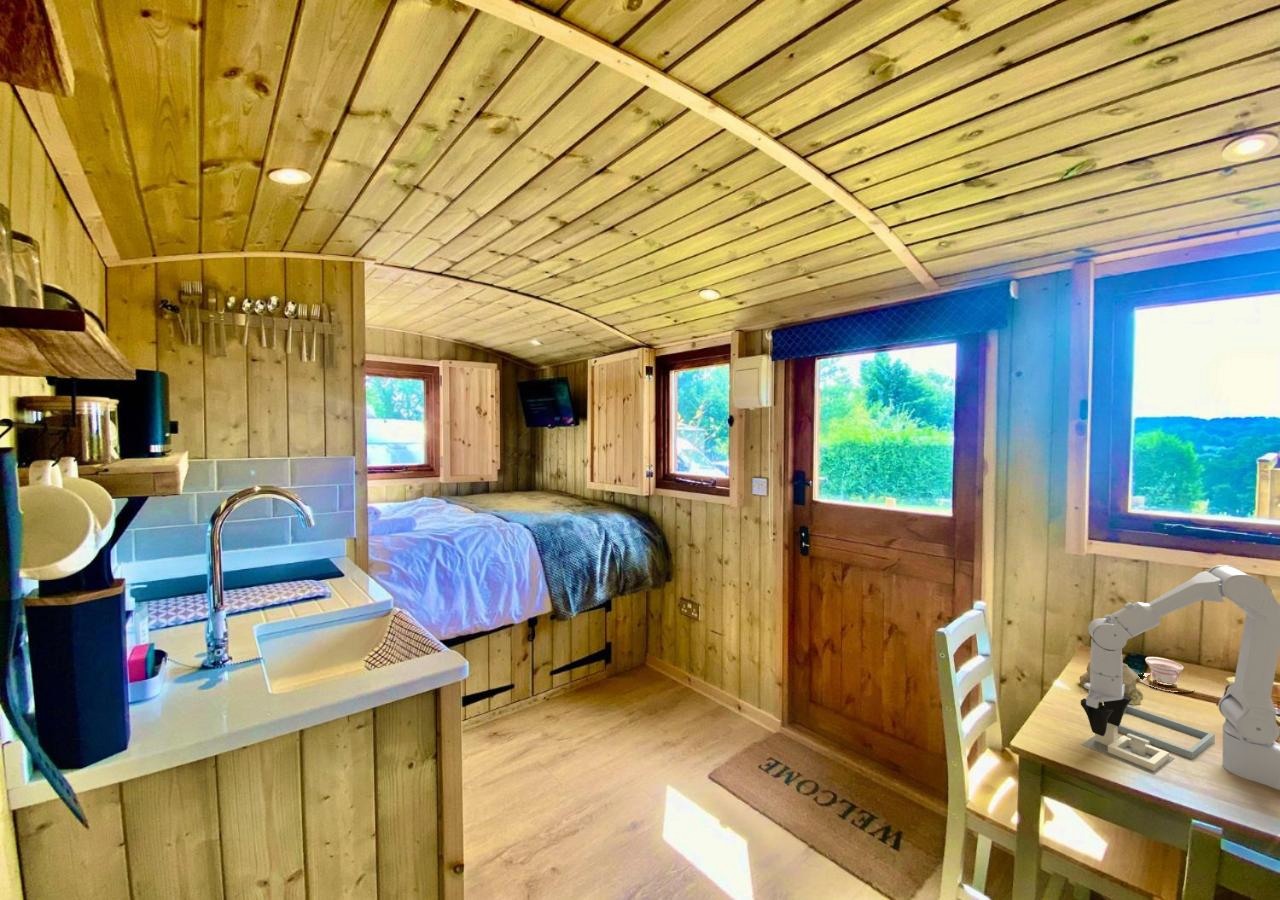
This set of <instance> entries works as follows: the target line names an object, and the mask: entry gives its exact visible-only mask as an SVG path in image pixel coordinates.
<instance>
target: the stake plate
mask: <svg viewBox="0 0 1280 900" xmlns="http://www.w3.org/2000/svg"><path fill="white" fill-rule="evenodd" d="M1126 736H1127V737H1128V738H1131V747H1130V746H1126V747H1125V748H1124V750H1126V751H1129V752H1132V753H1134V754H1137V755H1139V756H1142V757H1144V758H1147V759H1150V758H1152V757H1153V755H1151V754H1148V753H1145V744H1146V745H1150V743H1149V741H1148V740H1146V739H1143V738H1140V737H1138V736H1135V735H1132V734H1130V733H1128V734H1127V735H1126ZM1120 737H1121V736H1118V739H1119V738H1120ZM1080 745H1081V746H1084V747H1086V748H1089V749H1091V750H1093V751H1095V752H1099V754H1103V755H1105V756H1108V757H1110V758H1111V759H1112V758H1113V759H1115V760H1117V761H1119V762H1123V763H1124V764H1127V765H1130V766H1132V767H1134V768H1137V769H1140V770H1142V771H1144V772H1146V773H1149V774H1152V775H1156V774H1157V773H1158V772H1159V771H1161V770H1162V769H1163V768H1165V767H1166V766H1167V765H1168V764H1170V763H1171V762H1173V761H1174V760H1175V757H1173V756H1170V755H1169V760H1167V761H1166V762H1165V763H1164V764H1162V765H1161V766H1160V767H1158V768H1157V769H1156V770H1155V771H1153V770H1150V769H1148V768H1146V767H1143V766H1141V765H1138V764H1136V763H1133V762H1131V761H1128V760H1126V759H1123V758H1121V757H1118V756H1116V755H1114V754H1111V753H1109V752H1108V746H1107V745H1105V744H1102V743H1100V742H1097V741H1095V735H1094V736H1092V737H1090V738H1088V740H1087V739H1086V741H1084V742H1082V743H1081V744H1080Z"/></svg>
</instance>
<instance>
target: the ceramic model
mask: <svg viewBox="0 0 1280 900" xmlns="http://www.w3.org/2000/svg"><path fill="white" fill-rule="evenodd" d="M1122 675H1123V684H1125V692H1124V695H1127V696H1130V697H1131V701H1130V703H1129V704H1128V705H1131V706H1132V705H1134V706H1135V705H1136V706H1139V705H1142V704H1141V701H1142V699H1143V697H1144V696H1143V692H1142V691H1141V690H1140V688H1137V683H1141V682H1140V677H1139V676H1138V673H1136V671H1134V670H1133V669H1131V667H1129V666H1128V664H1126V663H1124V662H1123V667H1122ZM1079 683H1080V686H1082V687H1083V688H1085V687H1084V684H1086V683H1090V661H1089V662H1088V664H1087V667H1086V672H1084V673H1083V674H1082V675H1080V676H1079ZM1085 689H1086V690H1088V691H1089V689H1087V688H1085Z"/></svg>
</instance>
